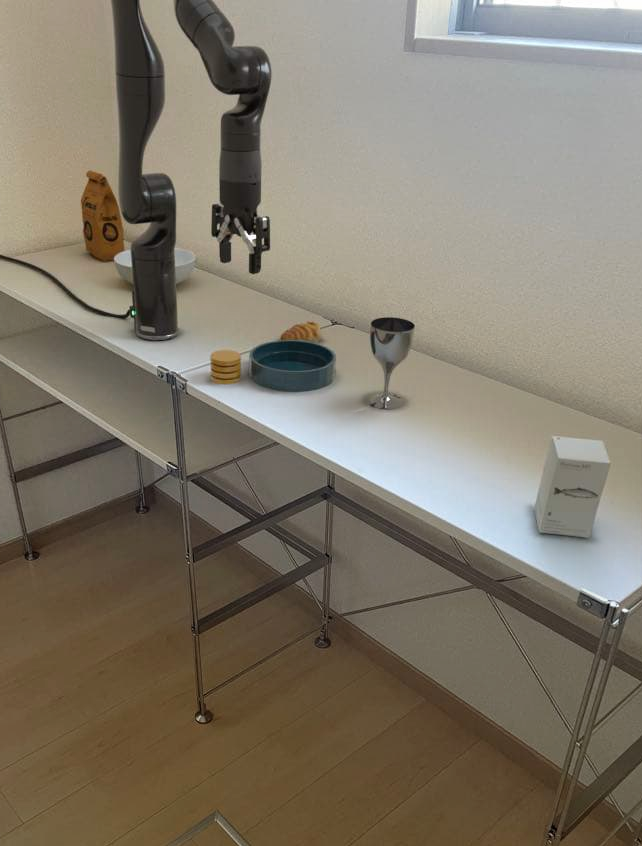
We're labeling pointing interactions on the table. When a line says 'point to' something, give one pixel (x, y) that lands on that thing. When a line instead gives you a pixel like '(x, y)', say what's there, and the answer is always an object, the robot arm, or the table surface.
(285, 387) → the bowl
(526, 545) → the table surface
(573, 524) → the white packaging box
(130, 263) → the serving bowl
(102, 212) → the coffee package
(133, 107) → the robot arm
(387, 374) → the wine glass
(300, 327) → the pastry
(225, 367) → the tan ridged cylinder
